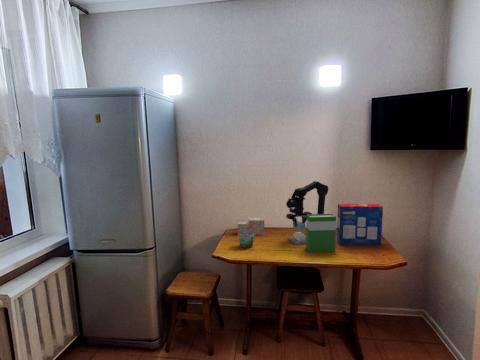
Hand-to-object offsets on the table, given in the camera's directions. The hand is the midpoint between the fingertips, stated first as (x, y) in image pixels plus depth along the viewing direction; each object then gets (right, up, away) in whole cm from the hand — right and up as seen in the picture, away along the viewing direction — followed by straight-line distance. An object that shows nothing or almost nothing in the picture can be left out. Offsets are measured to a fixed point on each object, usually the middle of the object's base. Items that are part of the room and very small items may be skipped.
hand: (299, 226), depth 200 cm
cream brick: (0, -9, +1) cm, 10 cm away
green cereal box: (+11, -13, -15) cm, 23 cm away
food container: (-40, -14, -9) cm, 43 cm away
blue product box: (+42, -11, -5) cm, 43 cm away
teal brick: (0, -1, 0) cm, 1 cm away
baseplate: (0, -11, +1) cm, 11 cm away
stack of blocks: (-35, -10, +20) cm, 41 cm away
